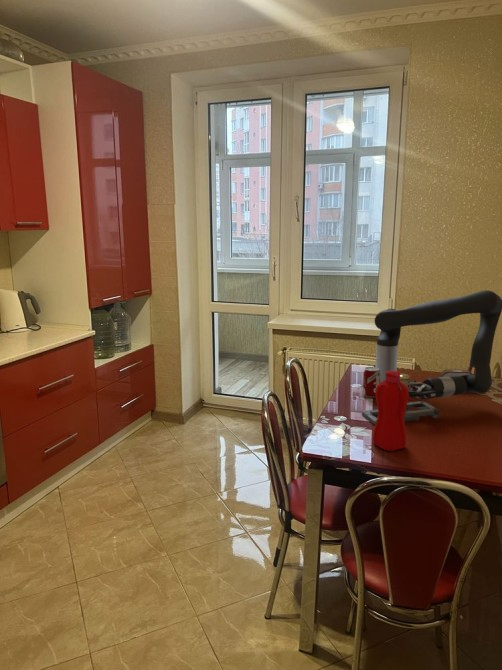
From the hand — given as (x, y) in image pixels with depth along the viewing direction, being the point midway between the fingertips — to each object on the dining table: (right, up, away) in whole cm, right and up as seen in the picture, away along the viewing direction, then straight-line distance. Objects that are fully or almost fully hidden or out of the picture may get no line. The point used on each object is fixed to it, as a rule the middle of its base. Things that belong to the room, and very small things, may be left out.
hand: (400, 391), depth 177 cm
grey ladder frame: (+1, -10, +2) cm, 10 cm away
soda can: (-5, -5, +24) cm, 25 cm away
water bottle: (-10, -16, -22) cm, 29 cm away
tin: (+34, -3, +32) cm, 47 cm away
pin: (+1, -10, +2) cm, 10 cm away
